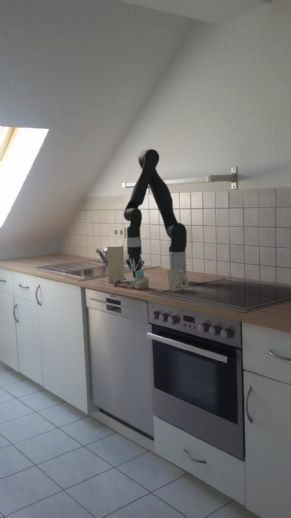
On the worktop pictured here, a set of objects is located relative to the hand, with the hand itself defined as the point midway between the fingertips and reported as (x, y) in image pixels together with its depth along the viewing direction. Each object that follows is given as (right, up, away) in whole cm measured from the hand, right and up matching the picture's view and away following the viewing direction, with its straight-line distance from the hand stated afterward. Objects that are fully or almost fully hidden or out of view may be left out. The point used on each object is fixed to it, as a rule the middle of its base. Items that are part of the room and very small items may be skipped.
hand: (135, 277), depth 274 cm
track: (-3, -5, +4) cm, 7 cm away
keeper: (+1, -4, 0) cm, 4 cm away
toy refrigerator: (-11, -3, +22) cm, 25 cm away
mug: (+22, -6, -12) cm, 26 cm away
